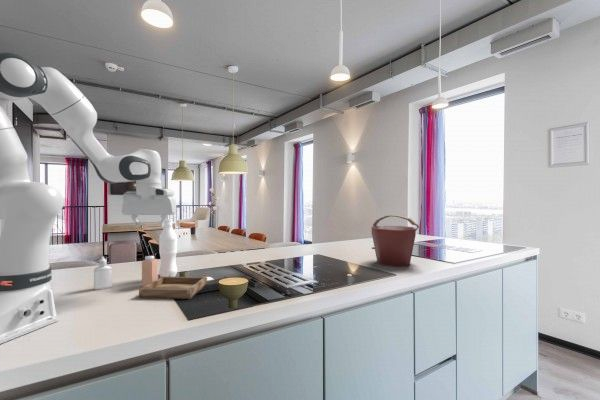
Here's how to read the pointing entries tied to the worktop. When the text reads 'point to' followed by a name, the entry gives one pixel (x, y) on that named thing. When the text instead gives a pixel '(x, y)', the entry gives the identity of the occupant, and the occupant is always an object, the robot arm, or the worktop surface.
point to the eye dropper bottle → (102, 275)
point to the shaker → (149, 270)
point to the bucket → (394, 243)
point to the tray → (173, 287)
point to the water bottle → (168, 250)
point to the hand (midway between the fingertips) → (149, 226)
